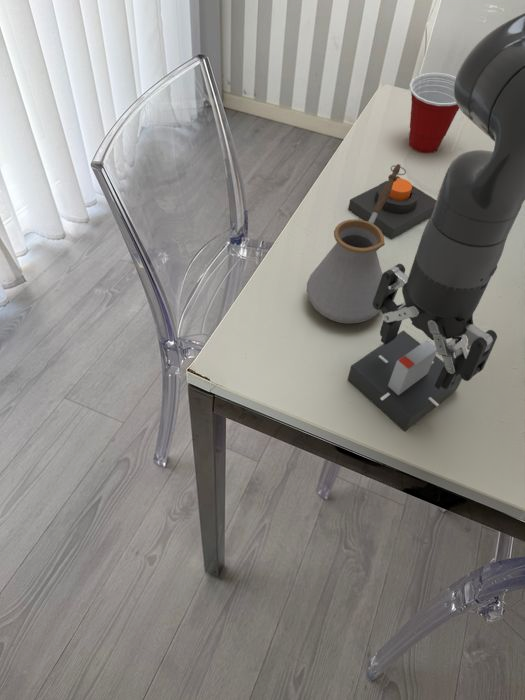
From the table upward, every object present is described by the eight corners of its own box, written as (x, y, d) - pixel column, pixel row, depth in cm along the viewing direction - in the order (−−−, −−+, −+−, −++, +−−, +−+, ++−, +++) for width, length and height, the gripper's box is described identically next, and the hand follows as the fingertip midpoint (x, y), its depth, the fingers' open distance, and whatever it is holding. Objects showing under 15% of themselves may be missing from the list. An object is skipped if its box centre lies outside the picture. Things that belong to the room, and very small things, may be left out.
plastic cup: (386, 148, 111) (400, 87, 102) (409, 126, 117) (425, 66, 108) (437, 167, 107) (456, 106, 98) (459, 144, 113) (479, 84, 104)
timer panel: (398, 344, 78) (403, 329, 76) (461, 395, 73) (469, 380, 71) (342, 382, 74) (346, 367, 71) (405, 440, 68) (411, 426, 66)
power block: (394, 186, 103) (399, 166, 100) (437, 213, 98) (444, 194, 95) (347, 210, 98) (351, 190, 94) (390, 240, 93) (396, 220, 90)
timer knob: (416, 365, 72) (427, 338, 68) (427, 373, 71) (439, 347, 67) (387, 386, 70) (397, 359, 66) (398, 395, 69) (408, 369, 65)
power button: (396, 184, 97) (399, 175, 95) (414, 195, 95) (417, 186, 94) (380, 192, 95) (382, 183, 94) (398, 203, 93) (401, 194, 92)
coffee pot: (366, 345, 78) (390, 262, 66) (291, 315, 81) (301, 230, 69) (413, 256, 90) (440, 173, 79) (346, 233, 93) (363, 150, 82)
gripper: (376, 236, 57) (350, 340, 70) (492, 319, 51) (440, 418, 63) (424, 209, 60) (391, 313, 73) (539, 284, 54) (481, 384, 66)
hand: (414, 361), depth 68 cm, fingers open, 8 cm apart
